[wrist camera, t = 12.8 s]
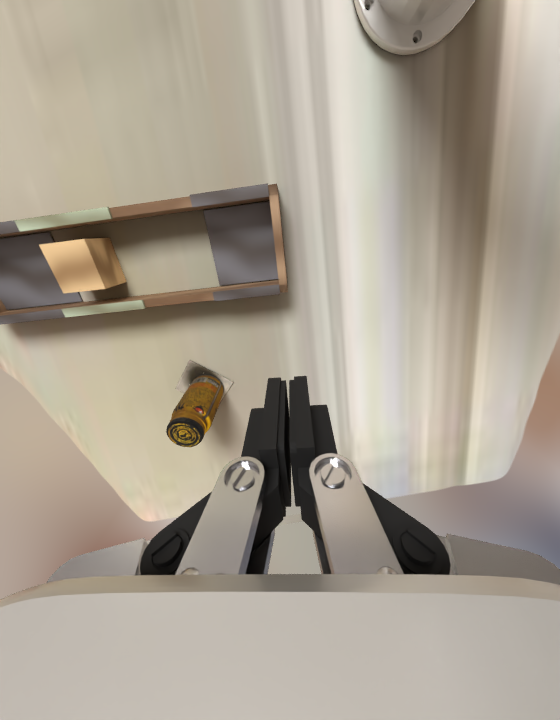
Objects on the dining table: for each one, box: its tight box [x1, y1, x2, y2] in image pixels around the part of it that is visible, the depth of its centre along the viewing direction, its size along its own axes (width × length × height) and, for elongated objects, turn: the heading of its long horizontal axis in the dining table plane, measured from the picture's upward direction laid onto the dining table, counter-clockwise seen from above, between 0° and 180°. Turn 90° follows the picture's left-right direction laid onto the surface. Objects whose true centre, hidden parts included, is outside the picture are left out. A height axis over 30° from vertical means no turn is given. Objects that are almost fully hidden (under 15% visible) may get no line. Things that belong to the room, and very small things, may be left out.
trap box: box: [0, 184, 288, 324], centre depth 34 cm, size 12×46×4 cm, turn 96°
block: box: [39, 238, 126, 293], centre depth 34 cm, size 6×6×5 cm
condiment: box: [166, 360, 233, 447], centre depth 40 cm, size 7×8×12 cm
